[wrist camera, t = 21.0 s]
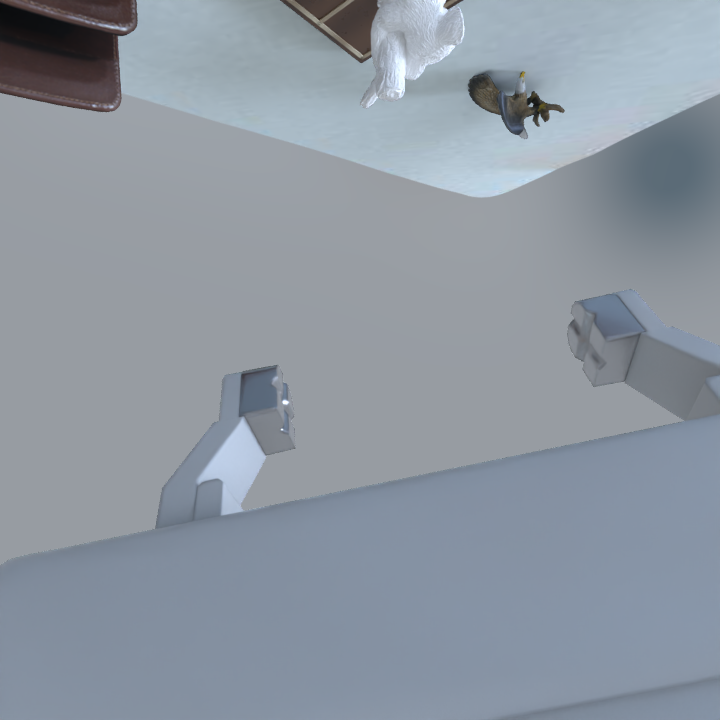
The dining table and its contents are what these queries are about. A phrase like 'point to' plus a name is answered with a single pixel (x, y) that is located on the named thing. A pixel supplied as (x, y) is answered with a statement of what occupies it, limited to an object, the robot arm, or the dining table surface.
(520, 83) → the eagle figurine
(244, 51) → the dining table surface
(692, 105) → the dining table surface
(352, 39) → the board
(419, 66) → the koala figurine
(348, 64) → the dining table surface
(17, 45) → the letter holder
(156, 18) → the dining table surface
